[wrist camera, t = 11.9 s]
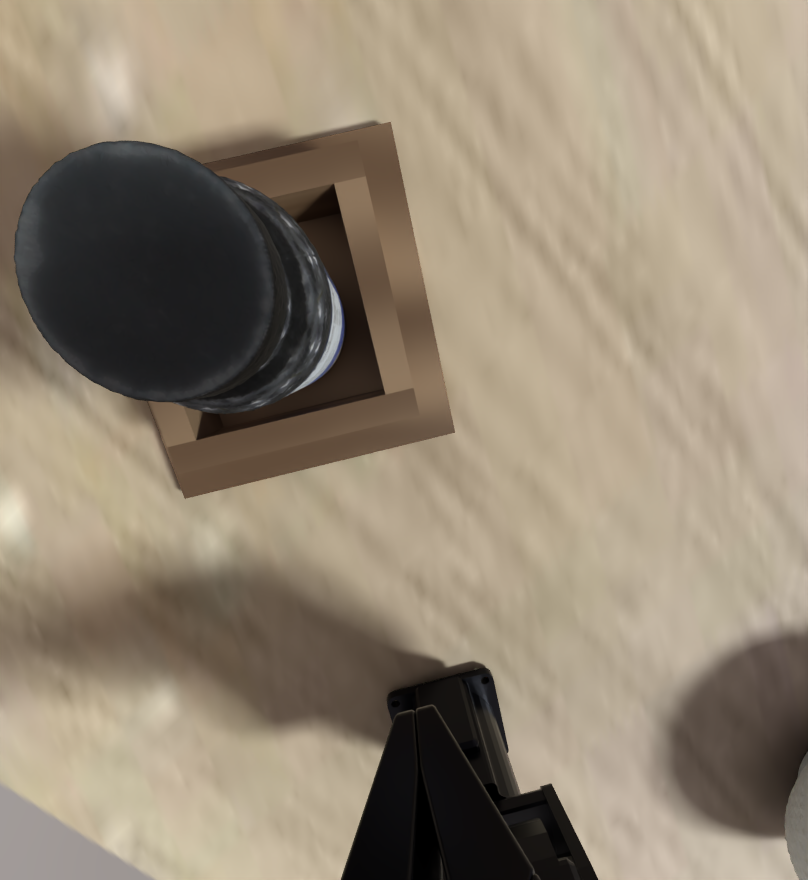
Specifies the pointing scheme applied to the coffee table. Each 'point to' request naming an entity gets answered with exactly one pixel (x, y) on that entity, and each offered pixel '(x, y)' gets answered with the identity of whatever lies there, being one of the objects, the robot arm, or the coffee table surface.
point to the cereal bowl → (798, 822)
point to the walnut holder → (367, 324)
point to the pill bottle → (174, 281)
